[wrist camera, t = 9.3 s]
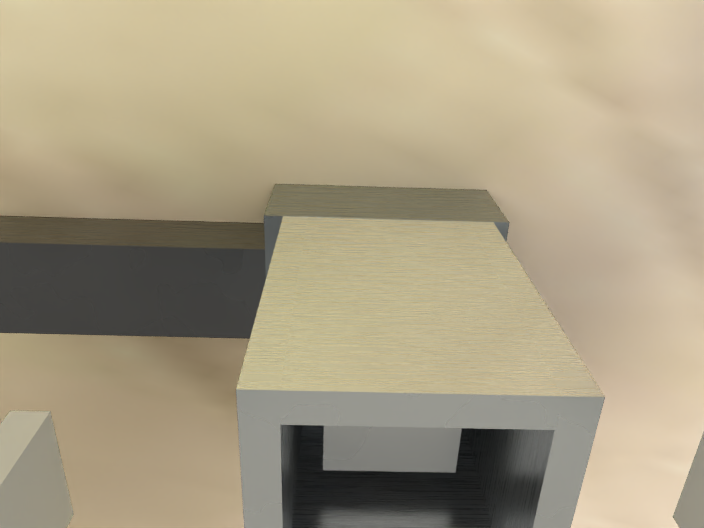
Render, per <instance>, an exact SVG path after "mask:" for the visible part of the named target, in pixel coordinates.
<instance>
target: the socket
mask: <svg viewBox="0 0 704 528" xmlns="http://www.w3.org/2000/svg"><path fill="white" fill-rule="evenodd" d="M236 398H237V414H238V431H239V448H240V465H241V481H242V498H243V515H244V528H571V524H572V520H573V516H574V513H575V509H576V505H577V501H578V498H579V494H580V490H581V486H582V482H583V479H584V475H585V471H586V467H587V463H588V460H589V456H590V452H591V448H592V444H593V441H594V437H595V433H596V429H597V425H598V422H599V418H600V414H601V410H602V407H603V403H604V399H605V396H604V395H603V393H602V392H601V390H600V388H599V387H598V385H597V384H596V382H595V381H594V379H593V377H592V376H591V374H590V373H589V371H588V370H587V368H586V367H585V365H584V363H583V362H582V360H581V359H580V357H579V356H578V354H577V352H576V351H575V349H574V348H573V346H572V345H571V343H570V341H569V340H568V338H567V337H566V335H565V334H564V332H563V331H562V329H561V327H560V326H559V324H558V323H557V321H556V320H555V318H554V316H553V315H552V313H551V312H550V310H549V309H548V307H547V305H546V304H545V302H544V301H543V299H542V298H541V296H540V295H539V293H538V291H537V290H536V288H535V287H534V285H533V284H532V282H531V280H530V279H529V277H528V276H527V274H526V273H525V271H524V269H523V268H522V266H521V265H520V263H519V262H518V260H517V258H516V257H515V255H514V254H513V252H512V251H511V249H510V248H509V246H508V244H507V243H506V241H505V240H504V238H503V237H502V235H501V233H500V232H499V230H498V229H497V227H496V226H495V224H494V222H471V221H435V220H399V219H364V218H328V217H292V216H283V218H282V222H281V226H280V229H279V233H278V237H277V240H276V244H275V248H274V252H273V255H272V259H271V263H270V266H269V270H268V274H267V277H266V281H265V285H264V288H263V292H262V296H261V299H260V303H259V307H258V310H257V314H256V318H255V321H254V325H253V329H252V332H251V336H250V340H249V343H248V347H247V351H246V354H245V358H244V362H243V366H242V369H241V373H240V377H239V380H238V384H237V388H236ZM324 426H372V427H424V428H462V431H461V438H460V445H459V452H458V459H457V466H456V473H450V472H393V471H336V470H323V438H324Z"/></svg>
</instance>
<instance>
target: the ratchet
mask: <svg viewBox="0 0 704 528" xmlns="http://www.w3.org/2000/svg"><path fill="white" fill-rule="evenodd" d="M283 216H292V217H328V218H364V219H399V220H435V221H471V222H494V224H495V226H496V227H497V229H498V230H499V232H500V233H501V235H502V237H503V238H504V240H505V241H506V240H507V233H508V227H509V221H508V220H507V219H506V217H505V216H504V214H503V213H502V212H501V210H500V209H499V207H498V206H497V204H496V203H495V202H494V200H493V199H492V197H491V196H490V195H489V193H488V192H487V190H464V189H430V188H396V187H362V186H328V185H294V184H275V186H274V189H273V192H272V194H271V197H270V200H269V203H268V206H267V208H266V211H265V214H264V223H233V222H197V221H161V220H125V219H89V218H53V217H17V216H0V333H36V334H79V335H123V336H167V337H210V338H250V336H251V332H252V329H253V325H254V321H255V318H256V314H257V310H258V307H259V303H260V299H261V296H262V292H263V288H264V285H265V281H266V277H267V274H268V270H269V266H270V263H271V259H272V255H273V252H274V248H275V244H276V240H277V237H278V233H279V229H280V226H281V222H282V218H283ZM461 431H462V428H424V427H372V426H324V438H323V470H336V471H393V472H450V473H456V466H457V459H458V452H459V445H460V438H461Z"/></svg>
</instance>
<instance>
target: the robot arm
mask: <svg viewBox="0 0 704 528" xmlns="http://www.w3.org/2000/svg"><path fill="white" fill-rule="evenodd" d="M73 515H74V513H73V509H72V504H71V500H70V495H69V491H68V487H67V482H66V478H65V473H64V469H63V465H62V460H61V456H60V451H59V447H58V443H57V438H56V434H55V429H54V425H53V421H52V416H51V412H50V411H10V412H9V413H8V414H7V416H6V417H5V418H4V420H3V421H2V422H1V424H0V528H67V527H68V525H69V523H70V521H71V519H72V517H73ZM673 518H674V520H675V521H676V523H677V524H678V526H679V528H704V433H703V435H702V438H701V441H700V444H699V446H698V449H697V452H696V455H695V457H694V460H693V463H692V466H691V468H690V471H689V474H688V476H687V479H686V482H685V485H684V487H683V490H682V493H681V496H680V498H679V501H678V504H677V507H676V509H675V512H674V515H673Z"/></svg>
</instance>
